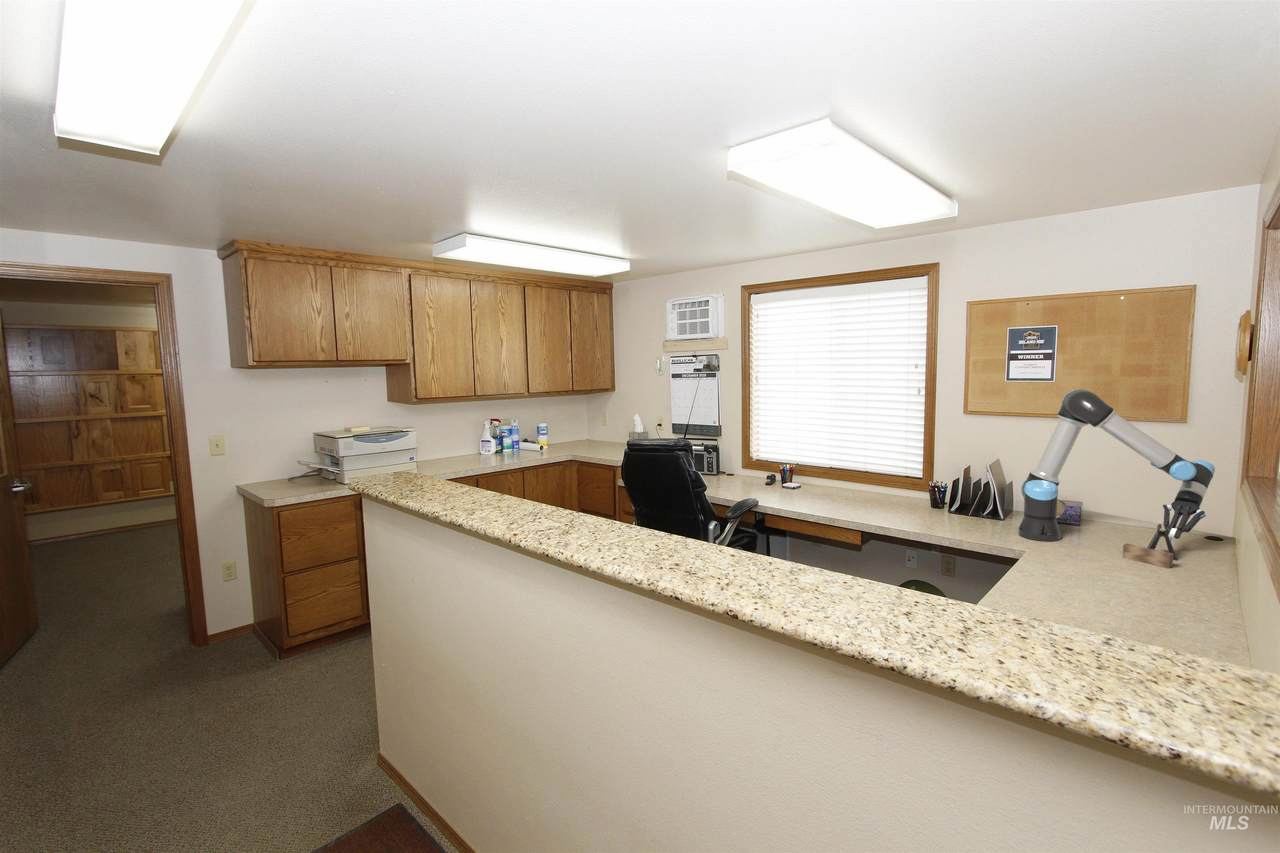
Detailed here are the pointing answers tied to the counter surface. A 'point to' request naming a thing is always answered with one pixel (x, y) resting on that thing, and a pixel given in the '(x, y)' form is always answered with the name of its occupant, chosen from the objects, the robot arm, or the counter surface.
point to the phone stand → (1165, 534)
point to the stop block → (1148, 555)
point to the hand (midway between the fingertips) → (1169, 543)
